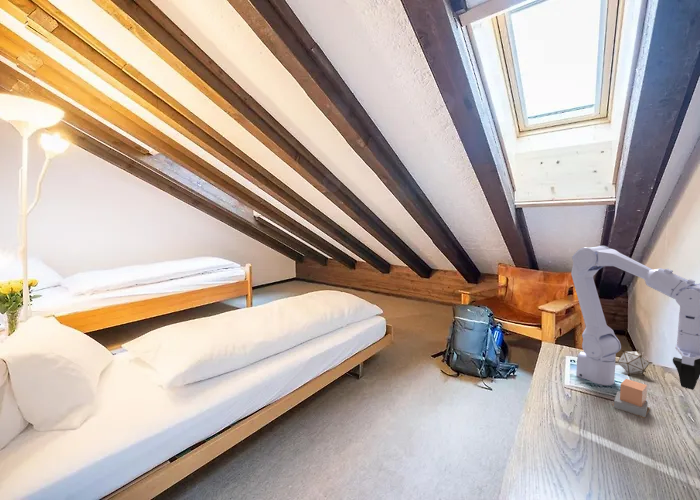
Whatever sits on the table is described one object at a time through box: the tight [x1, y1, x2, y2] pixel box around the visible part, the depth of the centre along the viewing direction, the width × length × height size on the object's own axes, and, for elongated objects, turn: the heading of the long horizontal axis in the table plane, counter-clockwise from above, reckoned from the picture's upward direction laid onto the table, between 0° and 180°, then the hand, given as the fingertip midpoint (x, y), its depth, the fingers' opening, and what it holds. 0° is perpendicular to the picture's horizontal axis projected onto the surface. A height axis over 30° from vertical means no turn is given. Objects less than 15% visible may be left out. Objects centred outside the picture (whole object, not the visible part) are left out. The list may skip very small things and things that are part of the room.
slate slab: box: [613, 390, 649, 418], centre depth 87 cm, size 6×6×2 cm
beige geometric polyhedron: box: [615, 348, 653, 377], centre depth 106 cm, size 9×8×10 cm
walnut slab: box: [611, 402, 651, 419], centre depth 87 cm, size 7×7×2 cm
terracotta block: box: [619, 378, 648, 407], centre depth 87 cm, size 4×4×4 cm
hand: (689, 382), depth 82 cm, fingers open, 7 cm apart
